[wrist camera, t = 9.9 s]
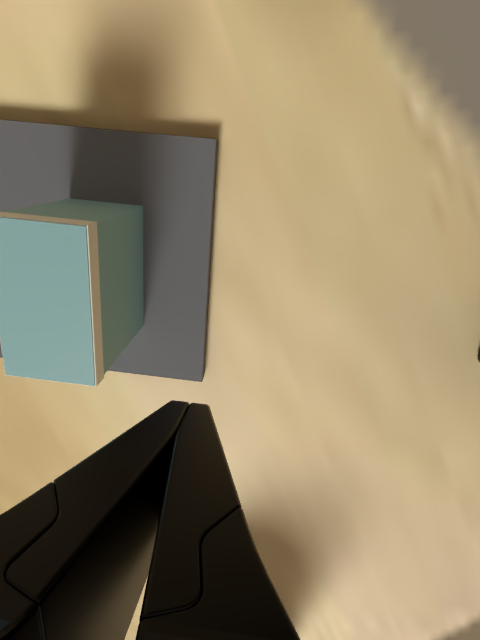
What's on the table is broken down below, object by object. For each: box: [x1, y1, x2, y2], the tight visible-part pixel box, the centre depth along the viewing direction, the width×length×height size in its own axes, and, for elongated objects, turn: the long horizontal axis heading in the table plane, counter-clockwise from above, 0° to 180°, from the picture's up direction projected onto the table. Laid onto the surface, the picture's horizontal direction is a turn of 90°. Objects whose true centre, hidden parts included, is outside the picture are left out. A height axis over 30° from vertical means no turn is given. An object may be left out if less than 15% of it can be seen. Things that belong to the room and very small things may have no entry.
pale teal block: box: [0, 198, 144, 387], centre depth 17 cm, size 4×6×6 cm, turn 175°
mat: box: [0, 120, 218, 382], centre depth 20 cm, size 16×12×1 cm
